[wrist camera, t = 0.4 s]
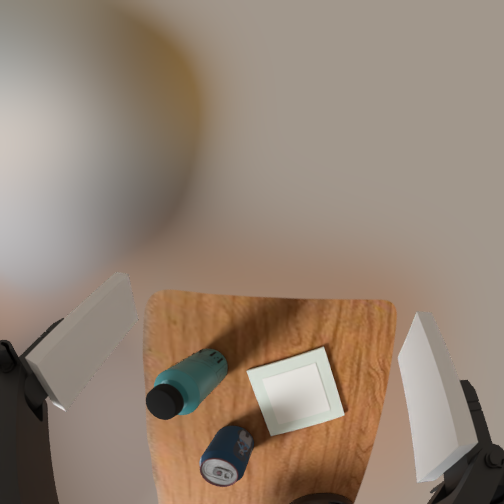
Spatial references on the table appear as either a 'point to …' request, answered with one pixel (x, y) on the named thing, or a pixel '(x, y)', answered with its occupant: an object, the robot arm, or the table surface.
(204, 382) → the beverage bottle
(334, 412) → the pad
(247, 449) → the soda can
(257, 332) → the table surface
